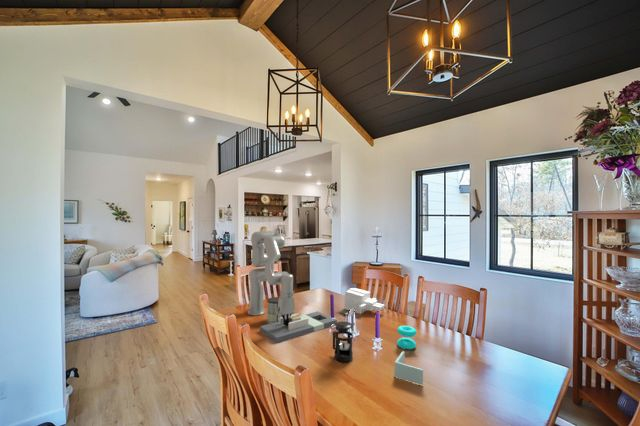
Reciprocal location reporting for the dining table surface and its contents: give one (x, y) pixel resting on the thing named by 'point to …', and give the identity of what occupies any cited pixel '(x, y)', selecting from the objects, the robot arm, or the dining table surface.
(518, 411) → the dining table surface
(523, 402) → the dining table surface
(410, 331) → the donuts
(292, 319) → the birch block
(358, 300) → the blocky voxel creature
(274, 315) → the coffee can
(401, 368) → the l-shaped corner panel
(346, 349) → the french press
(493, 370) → the dining table surface
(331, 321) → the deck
